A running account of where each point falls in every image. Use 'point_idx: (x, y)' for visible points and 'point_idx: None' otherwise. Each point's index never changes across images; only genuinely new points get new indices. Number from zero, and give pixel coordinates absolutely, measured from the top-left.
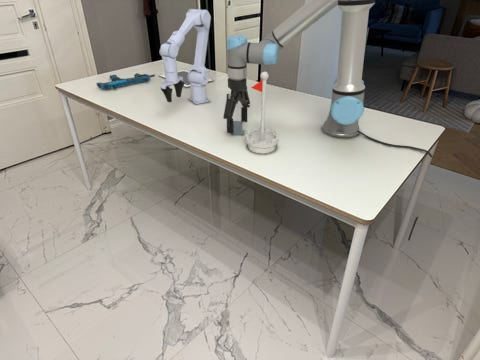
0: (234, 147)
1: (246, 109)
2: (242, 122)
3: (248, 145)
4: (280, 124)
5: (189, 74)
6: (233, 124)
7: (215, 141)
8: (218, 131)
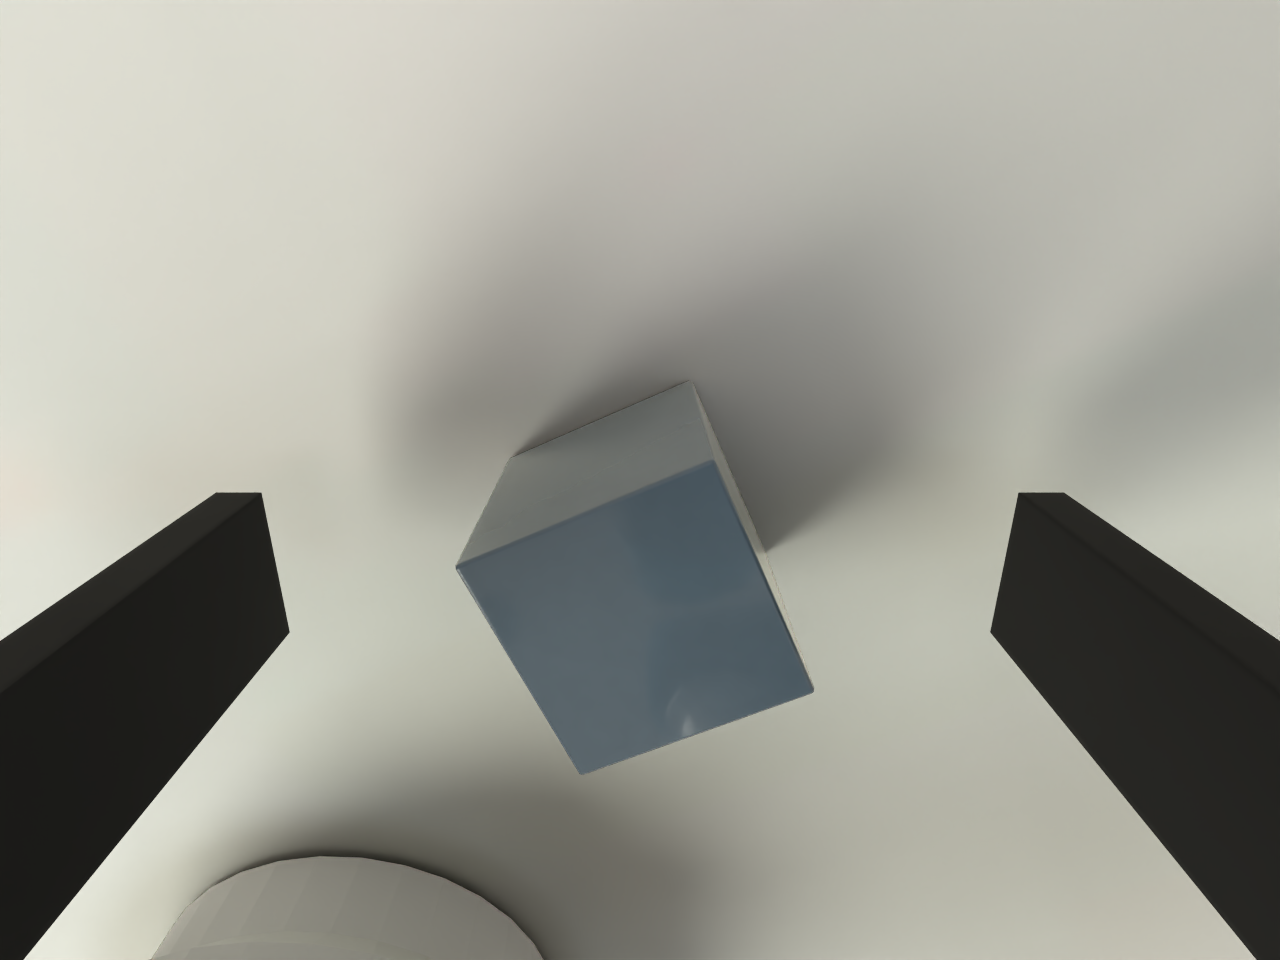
0: None
1: (1258, 951)
2: (723, 724)
3: (192, 921)
4: (1248, 957)
5: None
6: (477, 586)
7: (18, 286)
8: (489, 55)
